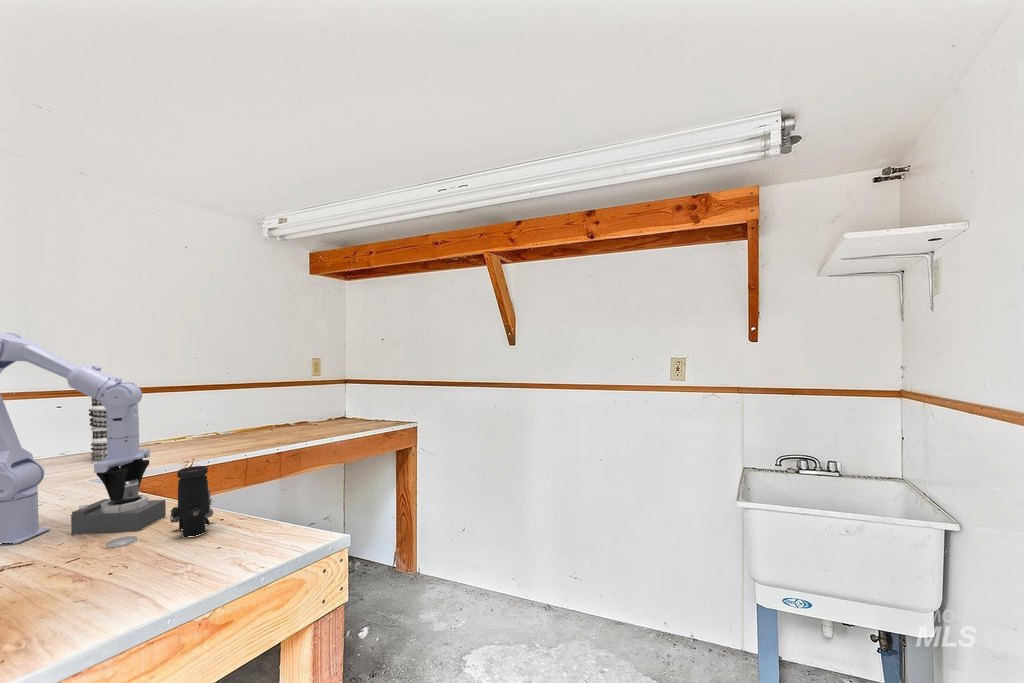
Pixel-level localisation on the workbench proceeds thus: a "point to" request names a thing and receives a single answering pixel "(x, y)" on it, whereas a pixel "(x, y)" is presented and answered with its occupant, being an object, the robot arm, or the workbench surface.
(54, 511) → the workbench surface
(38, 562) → the workbench surface
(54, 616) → the workbench surface
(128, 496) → the lens
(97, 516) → the camera body
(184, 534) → the scope
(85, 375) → the robot arm
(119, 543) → the grey domed disc
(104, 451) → the decorative candle
